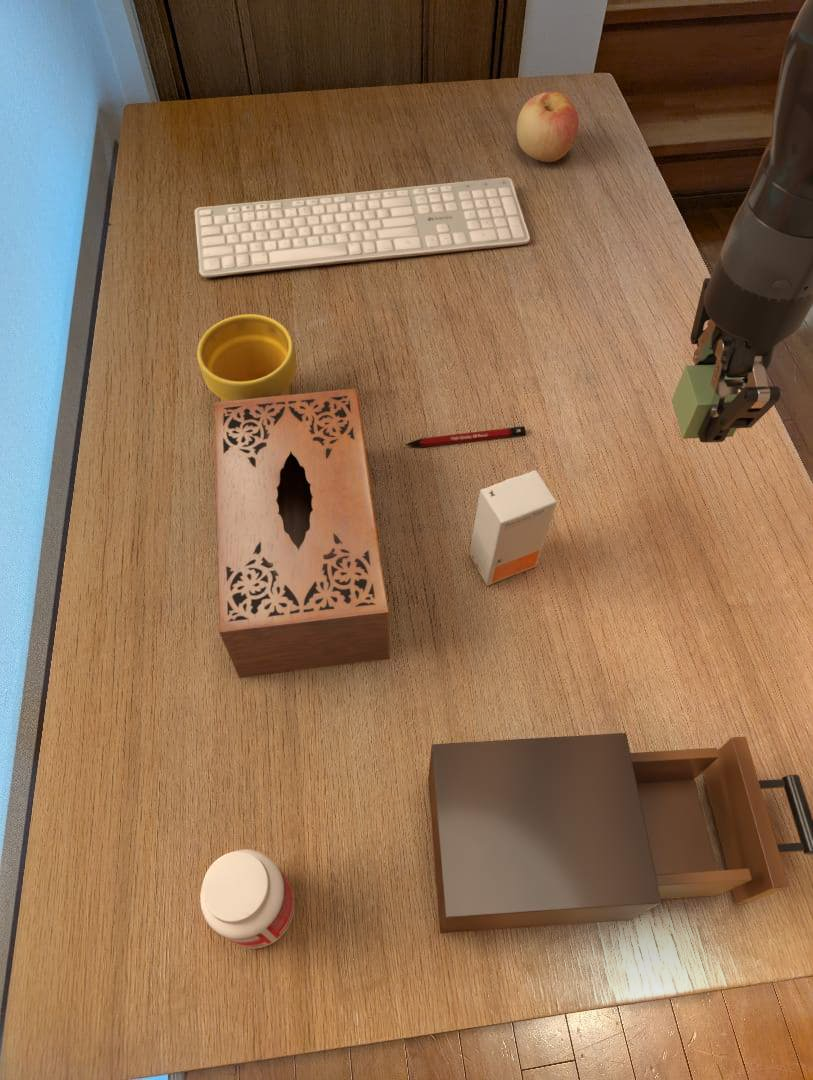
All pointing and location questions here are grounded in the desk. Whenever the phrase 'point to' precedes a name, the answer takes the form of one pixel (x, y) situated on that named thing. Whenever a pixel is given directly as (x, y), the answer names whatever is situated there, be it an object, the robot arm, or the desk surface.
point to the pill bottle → (247, 899)
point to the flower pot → (247, 358)
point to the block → (695, 399)
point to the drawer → (738, 818)
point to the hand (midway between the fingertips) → (702, 416)
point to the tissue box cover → (297, 535)
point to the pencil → (468, 437)
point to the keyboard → (358, 227)
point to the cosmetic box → (511, 526)
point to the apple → (547, 126)
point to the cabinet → (538, 833)
